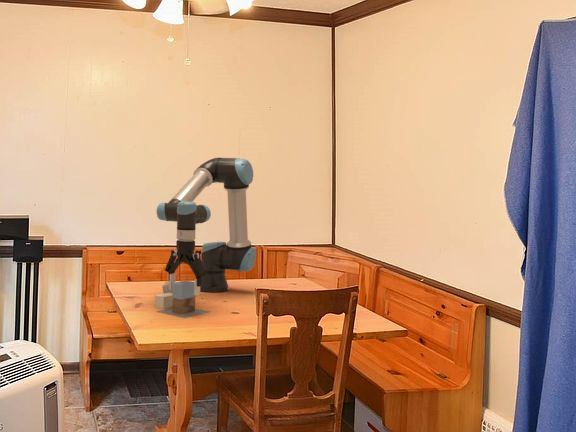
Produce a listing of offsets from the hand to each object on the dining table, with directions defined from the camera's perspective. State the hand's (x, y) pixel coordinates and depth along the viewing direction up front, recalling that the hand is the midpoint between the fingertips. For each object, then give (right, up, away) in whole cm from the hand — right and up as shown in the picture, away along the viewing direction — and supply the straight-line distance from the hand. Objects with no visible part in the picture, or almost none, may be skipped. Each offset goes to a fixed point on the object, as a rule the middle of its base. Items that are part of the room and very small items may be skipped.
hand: (184, 291), depth 283 cm
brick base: (0, -8, 0) cm, 8 cm away
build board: (0, -9, 0) cm, 9 cm away
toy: (-9, -7, +21) cm, 24 cm away
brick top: (0, -2, 0) cm, 2 cm away
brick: (-9, -8, +9) cm, 15 cm away
